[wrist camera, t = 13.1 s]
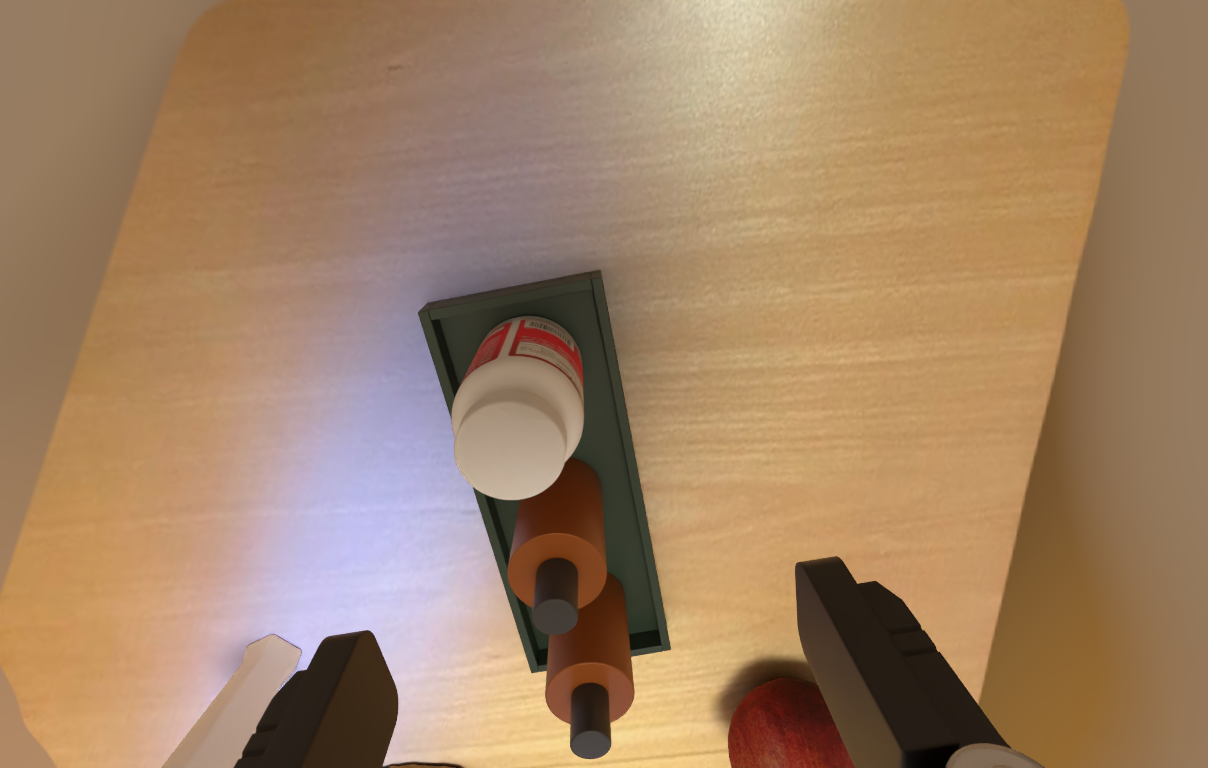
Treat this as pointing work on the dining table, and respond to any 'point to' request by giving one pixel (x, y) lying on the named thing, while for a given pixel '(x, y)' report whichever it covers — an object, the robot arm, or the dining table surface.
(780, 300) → the dining table surface
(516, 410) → the pill bottle
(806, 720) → the fruit
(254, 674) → the white faceted vase
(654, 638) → the tray
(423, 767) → the ceramic pot
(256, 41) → the dining table surface
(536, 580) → the amber bottle middle
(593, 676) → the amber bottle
